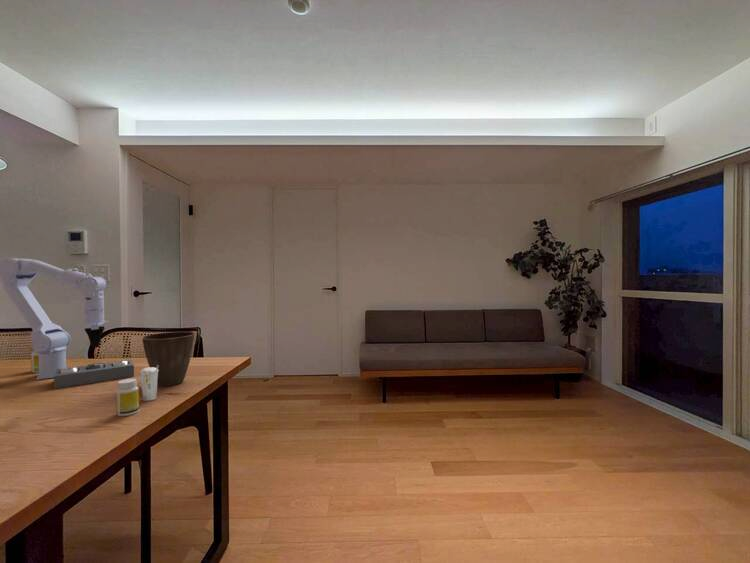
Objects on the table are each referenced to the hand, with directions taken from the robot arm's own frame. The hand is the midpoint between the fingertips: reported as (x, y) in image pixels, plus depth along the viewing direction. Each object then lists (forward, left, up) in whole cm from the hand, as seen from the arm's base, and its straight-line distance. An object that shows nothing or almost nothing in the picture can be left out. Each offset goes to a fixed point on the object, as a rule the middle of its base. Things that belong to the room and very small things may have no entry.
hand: (95, 347), depth 128 cm
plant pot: (+30, +19, -10) cm, 37 cm away
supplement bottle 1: (-20, -16, -10) cm, 28 cm away
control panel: (+7, 0, -10) cm, 12 cm away
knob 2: (+7, +7, -9) cm, 14 cm away
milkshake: (+44, +12, -10) cm, 47 cm away
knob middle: (+7, 0, -9) cm, 12 cm away
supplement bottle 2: (+52, +6, -10) cm, 53 cm away
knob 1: (+7, -7, -9) cm, 14 cm away
